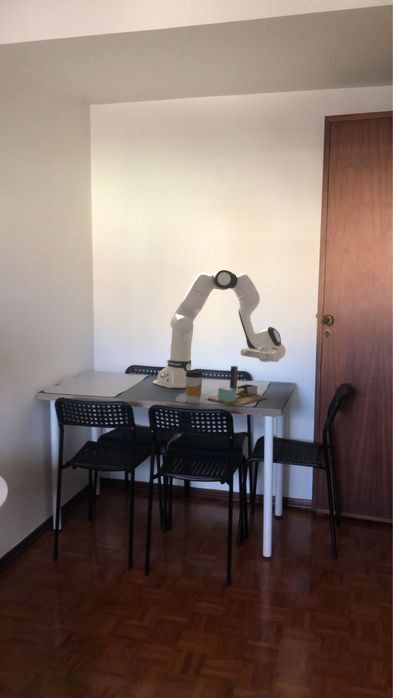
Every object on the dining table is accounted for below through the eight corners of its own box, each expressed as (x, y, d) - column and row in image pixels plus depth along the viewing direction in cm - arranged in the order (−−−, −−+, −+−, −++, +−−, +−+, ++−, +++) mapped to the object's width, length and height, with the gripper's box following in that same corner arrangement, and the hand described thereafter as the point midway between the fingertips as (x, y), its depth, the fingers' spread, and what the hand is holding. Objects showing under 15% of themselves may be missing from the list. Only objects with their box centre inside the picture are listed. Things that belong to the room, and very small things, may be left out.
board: (207, 399, 287) (207, 397, 287) (236, 392, 308) (236, 390, 307) (238, 406, 277) (238, 404, 276) (266, 398, 297) (266, 396, 297)
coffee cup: (195, 404, 276) (197, 373, 274) (181, 402, 280) (182, 371, 278) (205, 401, 283) (206, 371, 281) (190, 399, 287) (191, 369, 285)
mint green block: (218, 399, 285) (218, 388, 284) (223, 398, 289) (224, 386, 288) (229, 401, 281) (230, 390, 280) (235, 400, 284) (236, 389, 284)
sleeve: (236, 394, 297) (237, 386, 297) (246, 392, 304) (246, 383, 303) (247, 396, 293) (248, 388, 293) (256, 394, 300) (257, 385, 300)
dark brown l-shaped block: (223, 397, 285) (225, 367, 283) (239, 393, 296) (241, 364, 294) (228, 398, 283) (230, 367, 281) (244, 394, 294) (246, 364, 292)
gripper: (249, 344, 315) (234, 346, 304) (282, 350, 302) (268, 351, 291) (248, 356, 315) (233, 358, 305) (281, 362, 303) (267, 364, 292)
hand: (251, 355), depth 298 cm, fingers open, 8 cm apart
